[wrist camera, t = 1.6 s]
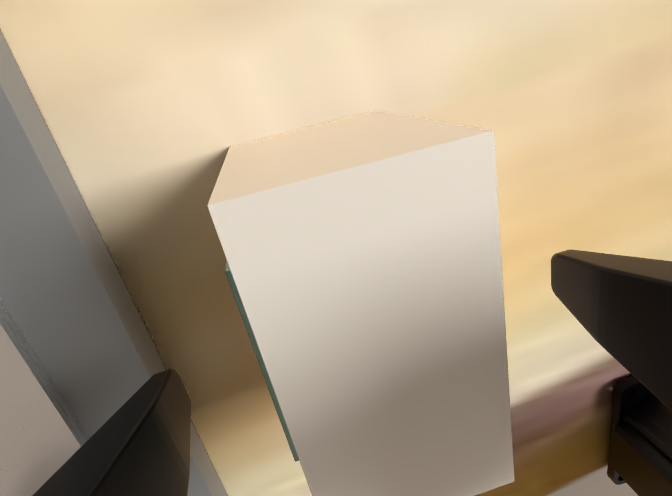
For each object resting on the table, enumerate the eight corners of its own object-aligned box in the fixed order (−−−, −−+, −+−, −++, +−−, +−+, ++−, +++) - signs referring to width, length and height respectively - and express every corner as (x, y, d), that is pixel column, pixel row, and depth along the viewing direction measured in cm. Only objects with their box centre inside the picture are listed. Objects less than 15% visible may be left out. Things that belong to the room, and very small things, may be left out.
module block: (375, 109, 12) (494, 130, 6) (412, 328, 15) (514, 481, 9) (219, 148, 12) (186, 211, 6) (291, 365, 15) (317, 550, 9)
